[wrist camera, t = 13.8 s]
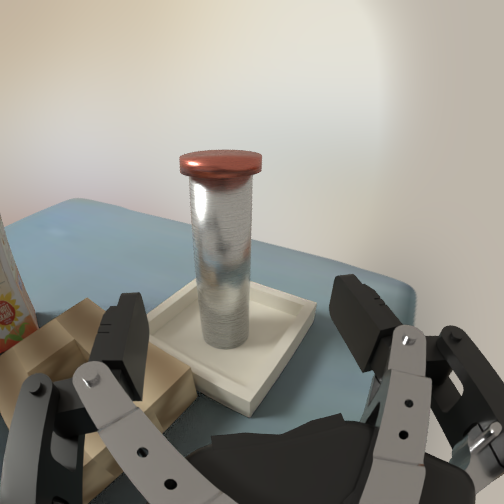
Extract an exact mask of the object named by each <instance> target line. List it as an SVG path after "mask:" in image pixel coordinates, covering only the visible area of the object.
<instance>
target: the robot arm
mask: <svg viewBox="0 0 504 504" xmlns="http://www.w3.org/2000/svg"><path fill="white" fill-rule="evenodd" d="M329 311H330V316H331V318H332V320H333V322H334V324H335V325H336V327H337V329H338V331H339V332H340V334H341V336H342V337H343V339H344V341H345V343H346V344H347V346H348V348H349V350H350V351H351V353H352V355H353V357H354V358H355V360H356V362H357V364H358V366H359V367H360V369H361V371H362V373H364V372H367V371H371V370H373V371H374V373H375V374H374V376H373V378H372V382H371V386H370V390H369V394H368V398H367V402H366V405H365V409H364V412H363V415H362V417H361V419H360V421H359V422H357V421H344V419H343V417H342V414H341V413H339V414H335V415H332V416H328V417H324V418H320V419H316V420H312V421H310V422H308V423H306V424H303V425H301V426H299V427H297V428H295V429H293V430H291V431H288V432H286V433H284V434H279V435H275V434H257V433H237V434H227V435H217V436H211V440H212V444H210V445H207V446H204V447H202V448H200V449H198V450H196V451H194V452H192V453H191V454H189V455H188V456H187V457H185V458H184V457H183V456H182V455H181V454H180V453H179V452H178V451H177V450H176V449H175V448H174V446H173V445H172V444H171V443H170V442H169V441H168V440H167V439H166V438H165V437H164V436H163V435H162V433H161V432H160V431H159V430H158V429H157V428H156V427H155V425H154V424H153V423H152V422H151V421H150V419H149V418H148V417H147V416H146V415H145V413H144V412H143V411H142V410H141V409H140V408H139V407H137V406H136V405H135V404H134V403H133V401H142V399H143V388H144V377H145V368H146V359H147V351H148V343H149V323H148V319H147V315H146V312H145V308H144V304H143V300H142V296H141V294H140V293H139V292H137V293H122V294H121V296H120V299H119V302H118V305H117V306H110V308H109V309H108V310H107V311H106V312H105V313H104V314H103V316H102V319H101V322H100V326H99V328H98V331H97V334H96V337H95V341H94V344H93V347H92V350H91V353H90V357H89V360H88V362H87V363H84V364H83V365H81V366H80V367H78V369H77V370H76V371H75V373H74V375H73V377H72V378H69V379H65V380H60V381H56V382H52V380H51V379H50V377H49V376H47V375H46V374H43V373H35V374H32V375H31V376H29V377H28V378H27V379H26V380H25V381H24V382H23V384H22V386H21V389H20V392H19V396H18V399H17V403H16V406H15V410H14V414H13V417H12V421H11V426H10V430H9V434H8V439H7V444H6V449H5V455H4V461H3V468H2V476H1V485H0V504H83V459H84V444H85V434H88V433H93V432H98V434H99V436H100V438H101V439H102V441H103V442H104V444H105V445H106V447H107V448H108V450H109V451H110V453H111V454H112V456H113V457H114V459H115V460H116V461H117V463H118V464H119V466H120V467H121V468H122V470H123V471H124V472H125V474H126V475H127V476H128V478H129V479H130V480H131V482H132V483H133V484H134V485H135V487H136V488H137V489H138V490H139V491H140V493H141V494H142V495H143V496H144V497H145V498H146V500H147V501H148V502H147V503H146V504H475V496H476V494H477V493H478V492H479V491H481V490H482V489H483V488H485V487H486V486H487V485H488V484H490V483H491V482H492V481H494V480H495V479H497V478H499V477H500V476H502V475H503V474H504V383H503V381H502V380H501V378H500V377H499V376H498V374H497V373H496V371H495V370H494V369H493V367H492V366H491V365H490V363H489V362H488V361H487V359H486V358H485V357H484V355H483V354H482V353H481V351H480V350H479V349H478V348H477V346H476V345H475V344H474V343H473V341H472V340H471V339H470V338H469V336H468V335H467V334H466V333H465V332H464V331H463V330H462V329H460V328H458V327H456V326H446V327H444V328H443V329H442V331H441V333H440V335H439V336H425V335H424V334H423V333H422V331H420V330H419V329H418V328H416V327H414V326H411V325H403V324H402V323H401V322H400V321H399V319H398V318H397V317H396V316H395V314H394V313H393V312H392V311H391V309H390V308H389V307H388V306H387V305H385V302H384V301H383V300H382V299H380V296H379V295H378V294H377V293H376V291H375V290H374V289H372V288H370V287H369V286H367V285H366V284H362V283H361V282H360V281H359V280H358V278H357V277H356V276H355V275H354V274H348V275H340V276H336V277H335V280H334V284H333V289H332V294H331V299H330V304H329ZM452 370H453V371H454V372H455V374H456V375H457V376H458V378H459V380H460V381H461V383H462V385H463V389H464V391H463V394H462V396H461V395H460V393H459V392H458V390H457V389H456V387H455V385H454V384H453V383H452V381H451V379H450V378H449V375H450V373H451V372H452ZM430 407H431V409H432V411H433V413H434V415H435V417H436V419H437V420H438V422H439V424H440V426H441V428H442V430H443V432H444V434H445V436H446V438H447V440H448V442H449V444H450V445H451V447H452V458H451V459H450V461H449V463H448V462H446V461H443V460H441V459H439V458H437V457H435V456H432V455H430V454H428V453H426V452H425V447H426V441H427V433H428V425H429V416H430Z"/></svg>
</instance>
